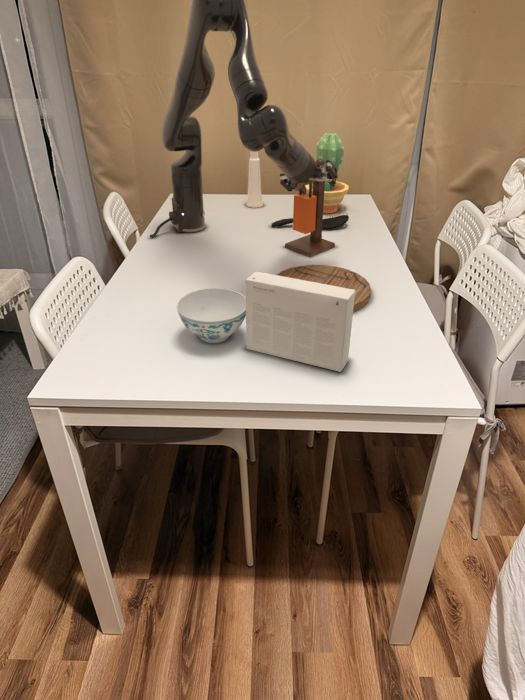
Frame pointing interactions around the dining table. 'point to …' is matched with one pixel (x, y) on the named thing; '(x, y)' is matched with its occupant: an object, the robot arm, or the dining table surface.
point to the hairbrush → (326, 224)
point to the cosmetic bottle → (254, 182)
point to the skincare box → (299, 320)
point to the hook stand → (314, 241)
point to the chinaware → (212, 313)
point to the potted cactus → (334, 151)
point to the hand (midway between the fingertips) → (319, 187)
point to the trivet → (333, 280)
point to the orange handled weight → (304, 212)
